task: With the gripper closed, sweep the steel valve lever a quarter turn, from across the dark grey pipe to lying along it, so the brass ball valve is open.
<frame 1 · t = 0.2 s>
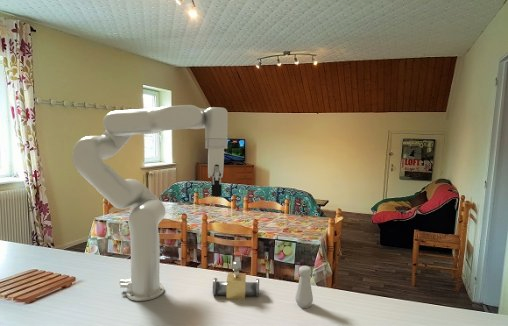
hand: (216, 193, 110), 36 cm above the kitchen counter, tool pointing down, fingers open, 9 cm apart
salt shaker: (303, 305, 106), on the kitchen counter
valve pipe: (236, 294, 112), on the kitchen counter
valve lever: (237, 260, 116), point 10 cm above the kitchen counter, hinge at 90.0°
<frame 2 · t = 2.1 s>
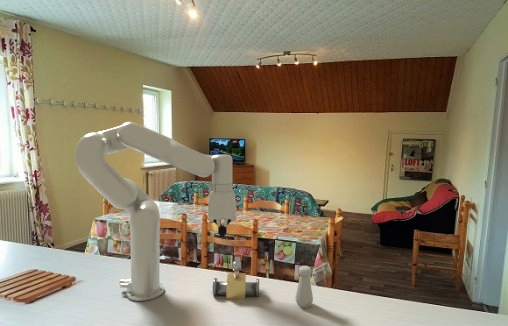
hand: (222, 236, 119), 18 cm above the kitchen counter, tool pointing down, fingers closed
nothing on the kitchen counter moved.
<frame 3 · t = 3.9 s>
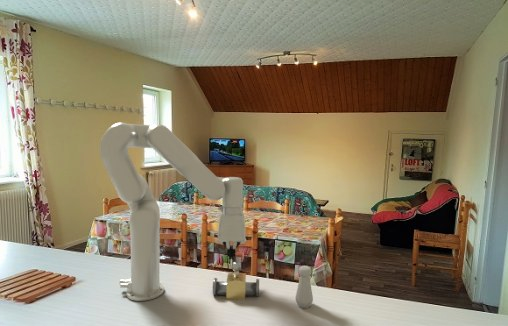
hand: (231, 258, 120), 10 cm above the kitchen counter, tool pointing down, fingers closed
valve lever: (238, 260, 116), point 10 cm above the kitchen counter, hinge at 85.6°, touching gripper
everything else where it was.
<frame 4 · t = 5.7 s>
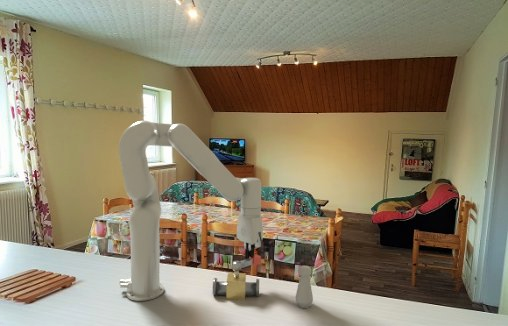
hand: (249, 259, 119), 10 cm above the kitchen counter, tool pointing down, fingers closed
valve lever: (246, 262, 114), point 10 cm above the kitchen counter, hinge at 40.6°, touching gripper
everything else where it was.
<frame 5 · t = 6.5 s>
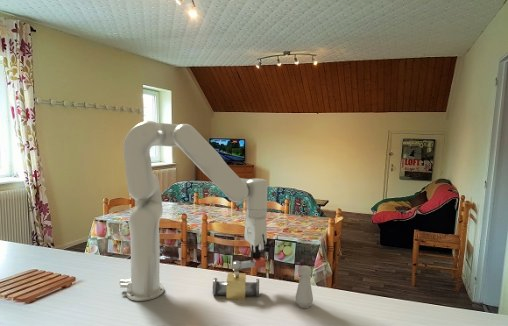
hand: (255, 261, 117), 10 cm above the kitchen counter, tool pointing down, fingers closed
valve lever: (248, 264, 113), point 10 cm above the kitchen counter, hinge at 22.4°, touching gripper
everything else where it was.
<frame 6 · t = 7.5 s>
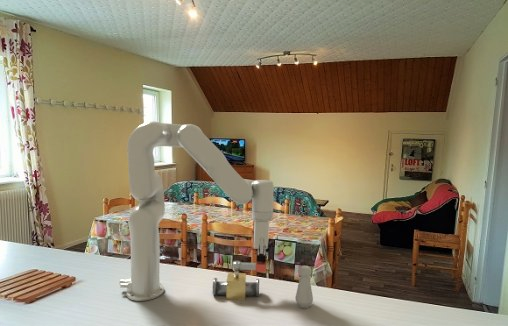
hand: (261, 265, 114), 10 cm above the kitchen counter, tool pointing down, fingers closed
valve lever: (249, 266, 111), point 10 cm above the kitchen counter, hinge at -2.0°, touching gripper
everything else where it was.
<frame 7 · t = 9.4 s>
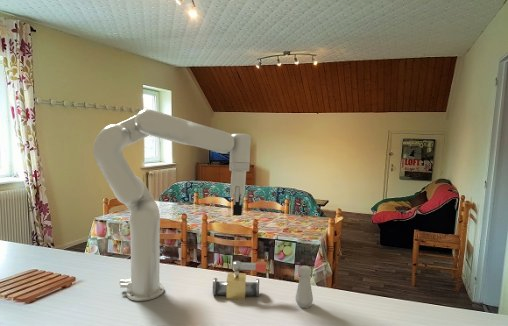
hand: (237, 214, 120), 26 cm above the kitchen counter, tool pointing down, fingers closed
valve lever: (249, 266, 111), point 10 cm above the kitchen counter, hinge at -2.3°
everything else where it was.
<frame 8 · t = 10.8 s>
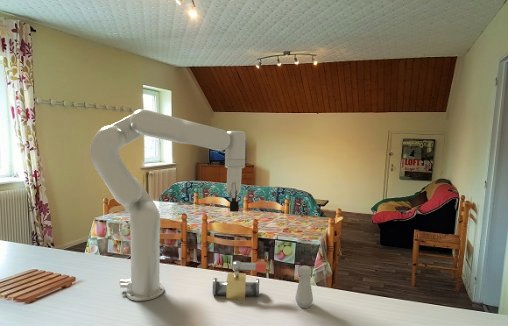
hand: (234, 211, 122), 27 cm above the kitchen counter, tool pointing down, fingers closed
nothing on the kitchen counter moved.
at the end: valve lever at -2° (first picture: +90°); salt shaker moved 0.2 cm from its start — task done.
